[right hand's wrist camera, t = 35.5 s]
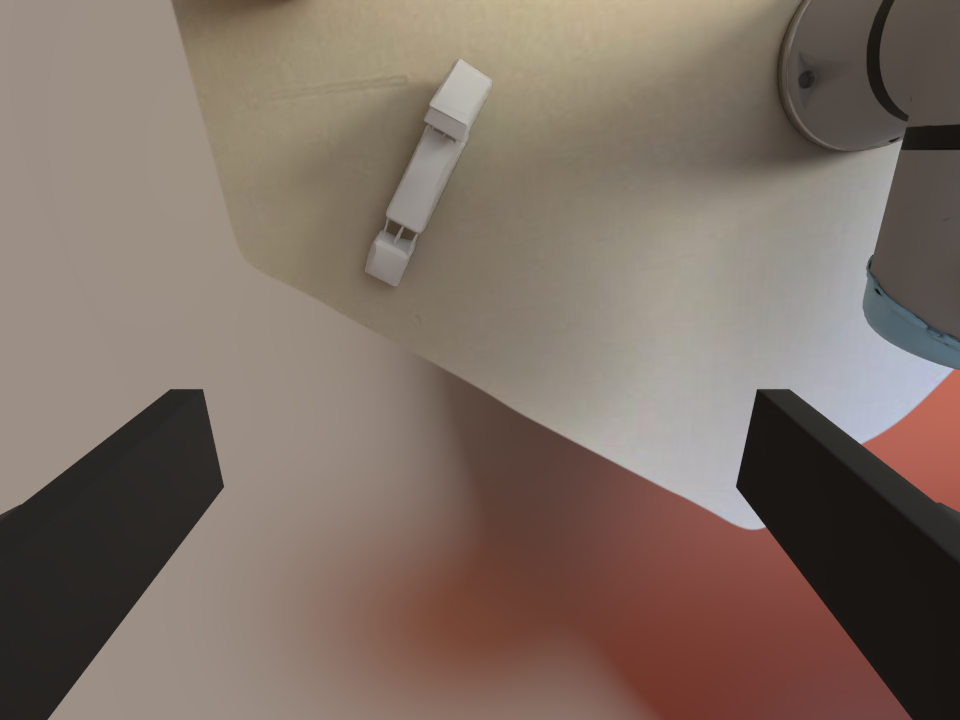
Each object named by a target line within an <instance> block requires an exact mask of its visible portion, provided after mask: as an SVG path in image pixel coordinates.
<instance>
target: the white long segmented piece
mask: <svg viewBox="0 0 960 720" xmlns="http://www.w3.org/2000/svg"><path fill="white" fill-rule="evenodd" d="M491 87H492V82H491V79H490V78H489V77H487V76H485V75H484V74H482V73H481V72H479V71H477V70H476V69H474V68H473V67H471V66H470V65H468V64H467V63H465V62H464V61H462V60H461V59H457V60H456V61H455V62H454V63H453V65H452V67H451V69H450V71H449V73H448V74H447V76H446V78H445V79H444V81H443V82H442V84H441V86H440V87H439V89H438V90H437V92H436V94H435V95H434V97H433V99H432V100H431V102H430V103H429V105H430V108H429V110H428V112H427V114H426V116H425V118H424V121H425V122H427V123H428V124H427V126H426V127H425V130H424V132H423V135H422V137H421V139H420V141H419V143H418V145H417V147H416V149H415V151H414V154H413V156H412V158H411V160H410V162H409V165H408V167H407V169H406V171H405V173H404V175H403V178H402V180H401V182H400V184H399V186H398V188H397V190H396V192H395V194H394V196H393V198H392V200H391V202H390V204H389V206H388V208H387V210H386V217H387V220H386V225H385V228H384V230H381V231H380V233H379V234H378V236H377V237H376V238H375V240H374V241H373V243H372V245H371V247H370V250H369V253H368V256H367V261H366V266H365V270H364V271H365V272H366V273H368V274H370V275H372V276H374V277H376V278H378V279H380V280H382V281H384V282H386V283H388V284H390V285H392V286H395V287H396V286H397V285H398V284H399V282H400V279H401V277H402V276H403V274H404V272H405V269H406V267H407V265H408V263H409V260H410V258H411V256H412V253H413V251H414V249H415V246H416V243H415V242H416V240H417V237H418V235H419V234H421V233H422V232H423V231H424V230H425V228H426V226H427V224H428V222H429V220H430V218H431V216H432V214H433V211H434V209H435V207H436V205H437V203H438V201H439V199H440V197H441V195H442V193H443V191H444V188H445V186H446V184H447V182H448V180H449V178H450V176H451V174H452V172H453V170H454V168H455V166H456V164H457V161H458V159H459V157H460V155H461V153H462V151H463V149H464V147H465V145H466V143H467V141H468V139H469V131H470V129H471V127H472V125H473V123H474V121H475V119H476V117H477V116H478V114H479V112H480V110H481V108H482V106H483V104H484V102H485V101H486V98H487V96H488V94H489V92H490V89H491ZM390 220H392V221H394V222H396V223H398V224H400V225H402V227H401V229H400V231H399V232H398V234H397V236H395V235H393V234H390V233H388V232H386V230H387V226H388V224H389V221H390ZM404 227H406V228H407V229H409V230H411V231H413V232H415V233H416V234H415V237H414V239H413V241H412V240H407V239H402V238H400V236H401V234H402V231H403V229H404Z"/></svg>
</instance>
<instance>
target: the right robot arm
mask: <svg viewBox="0 0 960 720" xmlns="http://www.w3.org/2000/svg"><path fill="white" fill-rule="evenodd" d="M778 83H779V92H780V97H781V101H782V104H783V107H784V109H785V112H786V114H787V116H788V118H789V120H790V121H791V123H792V124H793V126H794V127H795V128H796V129H797V130H798V131H799V132H800V133H801V134H802V135H803V136H804V137H805V138H807V139H808V140H810V141H811V142H813V143H815V144H817V145H819V146H822V147H825V148H829V149H833V150H845V151H860V150H870V149H875V148H879V147H882V146H886V145H889V144H892V143H895V142H898V141H900V140H902V139H903V142H902V146H901V150H900V153H899V157H898V161H897V165H896V169H895V173H894V177H893V180H892V184H891V188H890V192H889V196H888V200H887V204H886V208H885V212H884V216H883V220H882V224H881V228H880V232H879V236H878V240H877V244H876V248H875V252H874V255H872V256H871V257H870V259H869V261H868V263H867V268H866V270H867V278H868V279H867V284H866V289H865V294H864V299H863V310H864V314H865V317H866V320H867V322H868V324H869V325H870V326H871V327H872V328H873V330H874V331H875V332H876V333H878V334H879V335H880V336H881V337H883V338H884V339H885V340H887V341H888V342H890V343H892V344H893V345H895V346H897V347H899V348H901V349H903V350H905V351H907V352H909V353H911V354H914V355H916V356H918V357H921V358H923V359H926V360H929V361H931V362H934V363H937V364H940V365H943V366H947V367H950V368H954V369H958V370H960V0H804V1H803V2H802V4H801V5H800V7H799V8H798V10H797V12H796V13H795V15H794V17H793V19H792V21H791V23H790V25H789V28H788V30H787V33H786V35H785V38H784V41H783V45H782V49H781V54H780V59H779V67H778ZM223 488H224V485H223V480H222V476H221V471H220V466H219V462H218V457H217V452H216V448H215V443H214V438H213V434H212V429H211V425H210V420H209V415H208V411H207V406H206V402H205V397H204V392H203V389H170V390H169V391H168V392H166V393H165V394H164V395H163V396H161V397H160V398H159V399H157V400H156V401H155V402H154V403H152V404H151V405H150V406H148V407H147V408H146V409H145V410H143V411H142V412H141V413H139V414H138V415H137V416H135V417H134V418H133V419H132V420H130V421H129V422H128V423H126V424H125V425H124V426H123V427H121V428H120V429H119V430H117V431H116V432H115V433H114V434H112V435H111V436H110V437H108V438H107V439H106V440H105V441H103V442H102V443H101V444H99V445H98V446H97V447H95V448H94V449H93V450H92V451H90V452H89V453H88V454H86V455H85V456H84V457H83V458H81V459H80V460H79V461H77V462H76V463H75V464H73V465H72V466H71V467H70V468H68V469H67V470H66V471H64V472H63V473H62V474H61V475H59V476H58V477H57V478H55V479H54V480H53V481H52V482H50V483H49V484H48V485H46V486H45V487H44V488H43V489H41V490H40V491H39V492H37V493H36V494H35V495H34V496H32V497H31V498H30V499H28V500H27V501H26V502H24V503H23V504H22V505H19V506H17V507H15V508H13V509H11V510H9V511H7V512H5V513H3V514H1V515H0V720H47V719H48V718H49V717H50V716H51V714H52V713H53V712H54V710H55V709H56V708H57V706H58V705H59V704H60V702H61V701H62V700H63V698H64V697H65V696H66V694H67V693H68V692H69V690H70V689H71V688H72V687H73V685H74V684H75V683H76V681H77V680H78V679H79V677H80V676H81V675H82V673H83V672H84V671H85V669H86V668H87V667H88V665H89V664H90V663H91V662H92V660H93V659H94V658H95V656H96V655H97V654H98V652H99V651H100V650H101V648H102V647H103V646H104V644H105V643H106V642H107V640H108V639H109V638H110V636H111V635H112V634H113V632H114V631H115V630H116V629H117V627H118V626H119V625H120V623H121V622H122V621H123V619H124V618H125V617H126V615H127V614H128V613H129V611H130V610H131V609H132V608H133V606H134V605H135V604H136V602H137V601H138V600H139V598H140V597H141V596H142V594H143V593H144V592H145V590H146V589H147V588H148V586H149V585H150V584H151V582H152V581H153V580H154V578H155V577H156V576H157V575H158V573H159V572H160V571H161V569H162V568H163V567H164V565H165V564H166V563H167V561H168V560H169V559H170V557H171V556H172V555H173V553H174V552H175V551H176V550H177V548H178V547H179V546H180V544H181V543H182V542H183V540H184V539H185V538H186V536H187V535H188V534H189V532H190V531H191V530H192V528H193V527H194V526H195V524H196V523H197V522H198V521H199V519H200V518H201V517H202V515H203V514H204V513H205V511H206V510H207V509H208V507H209V506H210V505H211V503H212V502H213V501H214V499H215V498H216V497H217V495H218V494H219V493H220V491H221V490H222V489H223ZM736 488H737V489H738V490H739V492H740V493H741V494H742V495H743V497H744V498H745V499H746V501H747V502H748V503H749V505H750V506H751V507H752V509H753V510H754V511H755V513H756V514H757V515H758V517H759V518H760V519H761V521H762V522H763V523H764V524H765V526H766V527H767V528H768V530H769V531H770V532H771V534H772V535H773V536H774V538H775V539H776V540H777V542H778V543H779V544H780V546H781V547H782V548H783V549H784V551H785V552H786V553H787V555H788V556H789V557H790V559H791V560H792V561H793V563H794V564H795V565H796V567H797V568H798V569H799V571H800V572H801V573H802V575H803V576H804V577H805V579H806V580H807V581H808V582H809V584H810V585H811V586H812V588H813V589H814V590H815V592H816V593H817V594H818V596H819V597H820V598H821V600H822V601H823V602H824V604H825V605H826V606H827V608H828V609H829V610H830V611H831V613H832V614H833V615H834V617H835V618H836V619H837V621H838V622H839V623H840V625H841V626H842V627H843V629H844V630H845V631H846V632H847V634H848V635H849V636H850V638H851V639H852V640H853V642H854V643H855V644H856V646H857V647H858V648H859V650H860V651H861V652H862V654H863V655H864V656H865V658H866V659H867V660H868V661H869V663H870V664H871V665H872V667H873V668H874V669H875V671H876V672H877V673H878V675H879V676H880V677H881V679H882V680H883V681H884V683H885V684H886V685H887V687H888V688H889V689H890V691H891V692H892V693H893V694H894V696H895V697H896V698H897V700H898V701H899V702H900V704H901V705H902V706H903V708H904V709H905V710H906V712H907V713H908V714H909V716H910V717H911V718H912V720H960V513H959V512H957V511H956V510H954V509H952V508H950V507H948V506H946V505H944V504H942V503H936V502H934V501H933V500H932V499H930V498H929V497H928V496H927V495H925V494H924V493H923V492H921V491H920V490H919V489H917V488H916V487H915V486H914V485H912V484H911V483H910V482H908V481H907V480H906V479H905V478H903V477H902V476H901V475H899V474H898V473H897V472H896V471H894V470H893V469H892V468H890V467H889V466H888V465H887V464H885V463H884V462H883V461H881V460H880V459H879V458H877V457H876V456H875V455H873V454H872V453H871V452H870V451H868V450H867V449H866V448H865V447H863V446H862V445H861V444H859V443H858V442H857V441H856V440H854V439H853V438H852V437H850V436H849V435H848V434H846V433H845V432H844V431H843V430H841V429H840V428H839V427H837V426H836V425H835V424H834V423H832V422H831V421H830V420H828V419H827V418H826V417H825V416H823V415H822V414H821V413H819V412H818V411H817V410H816V409H814V408H813V407H812V406H810V405H809V404H808V403H806V402H805V401H804V400H803V399H801V398H800V397H799V396H797V395H796V394H795V393H794V392H792V391H791V390H790V389H757V392H756V397H755V402H754V406H753V411H752V415H751V420H750V425H749V429H748V434H747V438H746V443H745V448H744V452H743V457H742V462H741V466H740V471H739V475H738V480H737V485H736Z"/></svg>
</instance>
